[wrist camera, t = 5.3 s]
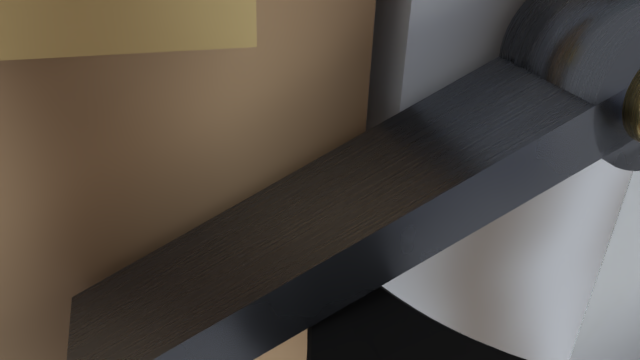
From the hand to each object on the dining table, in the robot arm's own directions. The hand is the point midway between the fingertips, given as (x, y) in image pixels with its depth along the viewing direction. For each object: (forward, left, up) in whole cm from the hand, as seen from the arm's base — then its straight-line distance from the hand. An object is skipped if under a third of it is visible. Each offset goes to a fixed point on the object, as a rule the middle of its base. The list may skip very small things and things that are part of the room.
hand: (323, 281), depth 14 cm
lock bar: (-1, -3, 0) cm, 3 cm away
